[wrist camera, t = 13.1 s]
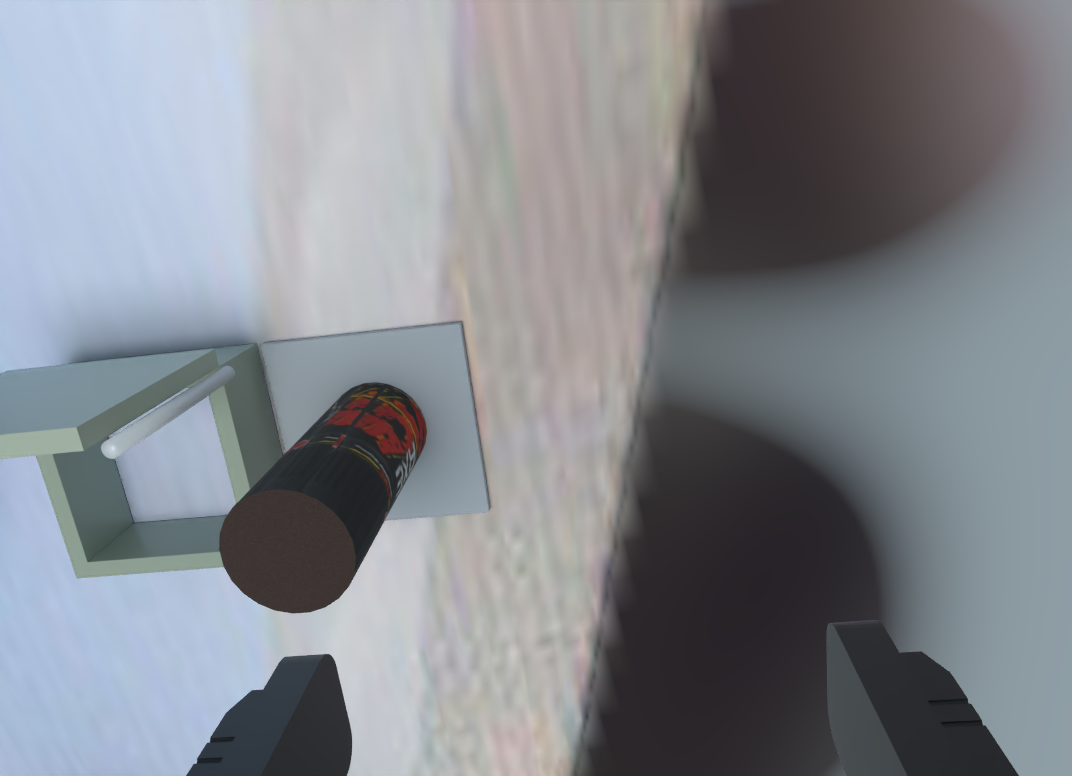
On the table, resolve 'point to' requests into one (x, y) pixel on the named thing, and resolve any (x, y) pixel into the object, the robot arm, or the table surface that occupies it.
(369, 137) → the table surface
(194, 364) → the case
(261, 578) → the deodorant
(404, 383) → the mat
